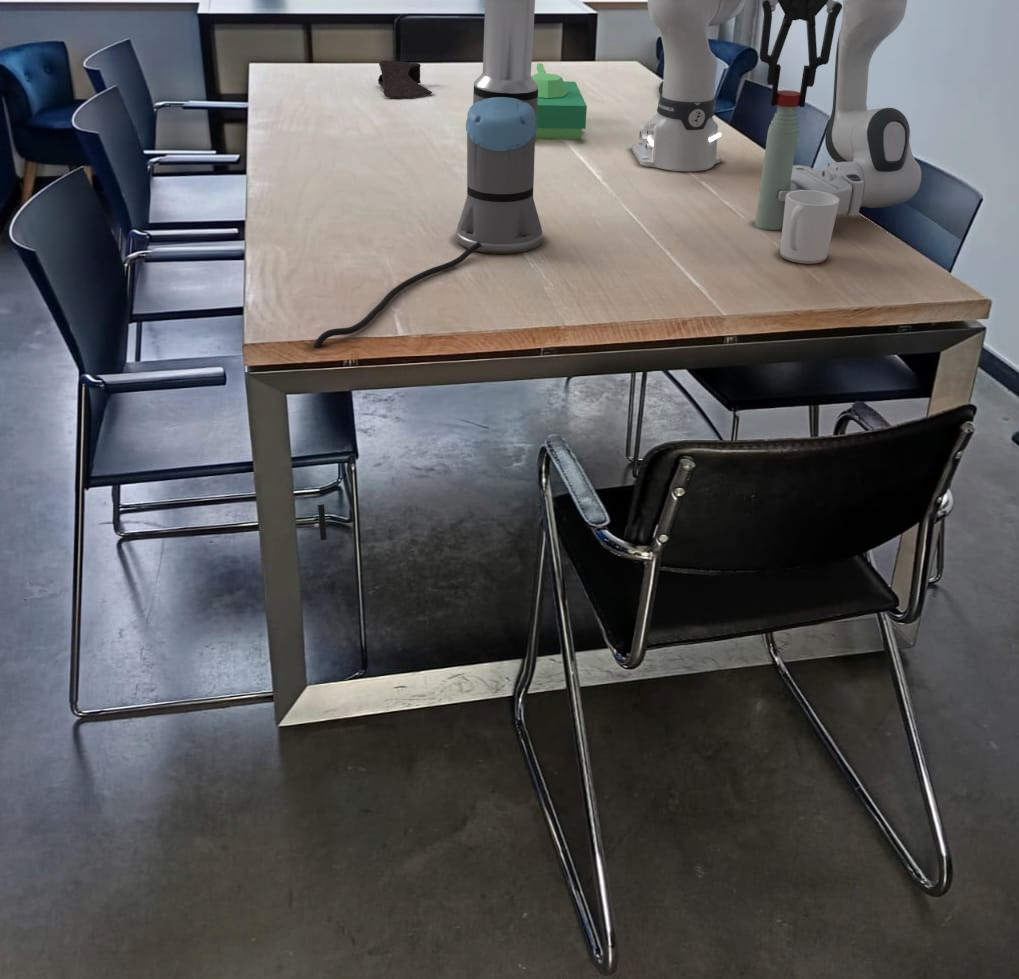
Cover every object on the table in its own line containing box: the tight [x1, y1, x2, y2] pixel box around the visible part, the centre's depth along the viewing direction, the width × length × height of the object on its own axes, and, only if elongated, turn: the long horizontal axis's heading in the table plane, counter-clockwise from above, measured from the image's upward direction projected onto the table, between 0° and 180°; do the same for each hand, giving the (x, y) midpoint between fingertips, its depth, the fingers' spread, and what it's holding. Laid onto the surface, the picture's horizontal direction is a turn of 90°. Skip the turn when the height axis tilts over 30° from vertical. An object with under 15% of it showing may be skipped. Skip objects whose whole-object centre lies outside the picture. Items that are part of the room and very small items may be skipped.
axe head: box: [377, 59, 433, 99], centre depth 299 cm, size 18×8×15 cm
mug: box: [779, 190, 840, 265], centre depth 188 cm, size 11×9×10 cm
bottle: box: [754, 105, 799, 231], centre depth 200 cm, size 5×5×23 cm
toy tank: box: [531, 63, 588, 141], centre depth 266 cm, size 18×12×35 cm
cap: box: [775, 89, 801, 108], centre depth 194 cm, size 4×4×2 cm
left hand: (786, 104), depth 195 cm, fingers closed on cap, 4 cm apart
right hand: (770, 190), depth 203 cm, fingers closed on bottle, 5 cm apart
